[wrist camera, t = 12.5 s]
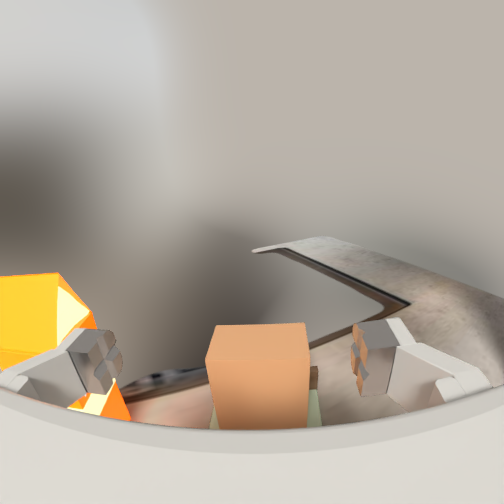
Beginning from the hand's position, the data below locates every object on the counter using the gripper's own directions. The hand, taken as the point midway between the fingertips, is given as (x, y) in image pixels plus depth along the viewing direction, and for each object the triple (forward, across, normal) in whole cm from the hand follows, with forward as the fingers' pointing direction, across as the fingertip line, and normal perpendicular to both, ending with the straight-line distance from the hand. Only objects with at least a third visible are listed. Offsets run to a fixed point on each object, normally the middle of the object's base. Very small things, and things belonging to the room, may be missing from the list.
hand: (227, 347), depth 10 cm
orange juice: (+10, +20, +21) cm, 31 cm away
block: (+16, +1, +21) cm, 26 cm away
